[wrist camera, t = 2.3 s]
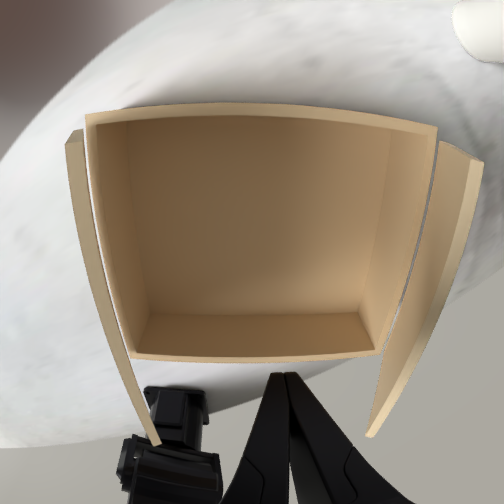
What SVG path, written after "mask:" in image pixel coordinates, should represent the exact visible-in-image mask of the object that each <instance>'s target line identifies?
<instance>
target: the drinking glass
mask: <svg viewBox="0 0 504 504" xmlns="http://www.w3.org/2000/svg"><path fill="white" fill-rule="evenodd" d="M451 20H452V26H453V30H454V33H455V35H456V37H457V39H458V41H459V43H460V44H461V46H462V47H463V48H464V49H465V51H466V52H467V53H469V54H470V55H471V56H472V57H474V58H475V59H477V60H479V61H483V62H498V63H504V0H461V1H459V2H457V3H456V4H455V6H454V7H453V10H452V14H451Z"/></svg>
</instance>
